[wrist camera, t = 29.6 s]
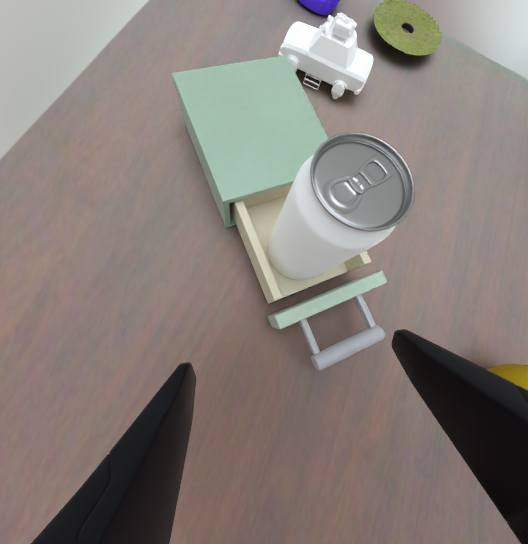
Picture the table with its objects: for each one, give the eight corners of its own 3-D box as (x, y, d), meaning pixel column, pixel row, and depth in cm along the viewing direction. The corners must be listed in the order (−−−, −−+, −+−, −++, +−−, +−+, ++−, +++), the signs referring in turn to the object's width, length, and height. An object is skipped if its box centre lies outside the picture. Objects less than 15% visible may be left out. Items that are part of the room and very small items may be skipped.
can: (254, 243, 22) (275, 160, 10) (301, 211, 23) (365, 106, 12) (293, 294, 21) (362, 265, 10) (338, 257, 23) (446, 195, 11)
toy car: (287, 47, 31) (302, -27, 24) (362, 83, 31) (396, 20, 25) (272, 75, 29) (283, 4, 23) (351, 112, 30) (384, 53, 23)
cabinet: (320, 198, 26) (343, 166, 21) (225, 228, 24) (222, 201, 18) (276, 106, 28) (286, 54, 23) (185, 125, 26) (171, 72, 20)
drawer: (381, 328, 23) (412, 331, 19) (290, 373, 21) (303, 387, 17) (313, 185, 25) (327, 160, 21) (225, 211, 23) (223, 189, 19)
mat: (382, 72, 32) (391, 57, 30) (356, 17, 34) (363, -1, 32) (441, 66, 34) (453, 52, 32) (413, 14, 36) (423, -3, 34)
